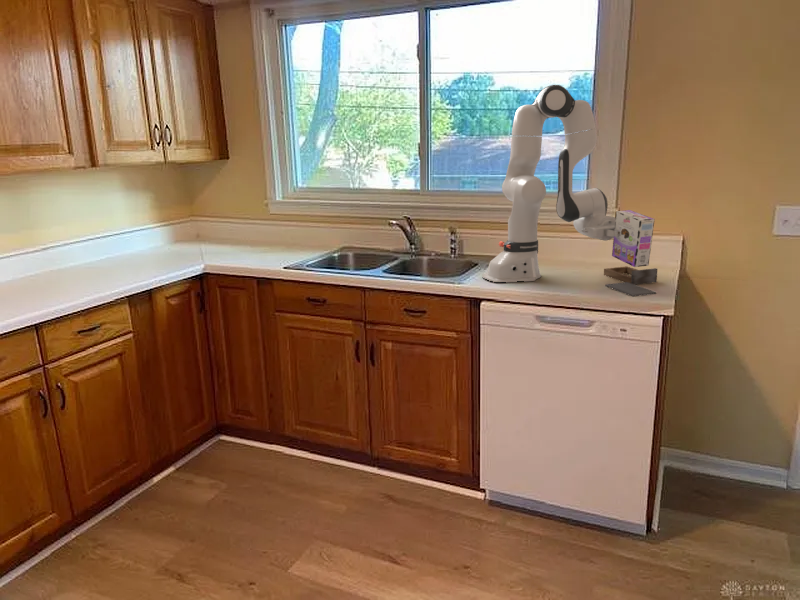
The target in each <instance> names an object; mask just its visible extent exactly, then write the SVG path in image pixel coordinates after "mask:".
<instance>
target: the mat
mask: <svg viewBox="0 0 800 600" xmlns="http://www.w3.org/2000/svg"><path fill="white" fill-rule="evenodd" d="M606 286H607V288H609V287H610V288H609V289H612V288H613V289H612V290H614V289H615V290H614V291H617V290H618V291H617V292H619V293H622V292H623V293H622V294H625V293H626V294H625V295H628V294H629V295H628V296H630V295H631V297H639V295H641V296H648V295H647V294H650V295H656V294H657V291H655V290H651V289H649V288H646V287H642V286H640V285H638V284H637V285H634V284H631V283H628V282H616V283H609V284H608V283H606V284H605V287H606Z"/></svg>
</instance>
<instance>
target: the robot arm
mask: <svg viewBox="0 0 800 600" xmlns="http://www.w3.org/2000/svg"><path fill="white" fill-rule="evenodd" d="M514 114H515V115H514V118H513V121H512V122H513V123H512V128H511V129H512V130H511V142H510V153H509V154H510V155H509V161H508V165H507V169H506V173H505V174H506V175H505V179H504V180H503V182H502V183H501V191H502V194H503V195H504V196H505V198H506V199H507V200H508V201H510V202H512V207H511V212H510V215H509V217H508V219H507V240H506V241H505V242H504V241H502V240H501V241H499V243H498V245H499V247H502V248H503V249H502V251H501V252H499V254H497V255H496V256H495V257H494V258H493V259H491V260H490V261H489V265H488V270H487V272H484V273H483V274H482V275H481V276H482V277H483V278H485V279H487V280H489V281H488V282H490V281H493V282H492V283H494V282H506V283H518V282H517V281H524V282H535V281H536V280H537V279H539V278H541V276H542V274H541V273H540V267H539V259H538V258H539V257H538V254H539V240H538V227H539V226H538V225H539V224H538V222H539V215H540V211H541V205H542V203H543V200H544V199H545V198H546V194H547V188H546V185H545V183H544V181H542V180H541V179H540V178H539V177H537V176H536V175H535V172H536V168H537V166H538V163H539V161H540V160H541V157H542V144H543V143H542V141H543V127H544V123H545V122H546V120H547V119H550V118H551V119H552V118H558V119H559V120H560V121H561V123H562V125H563V131H564V146H563V148H562V150H561V151H559V152H560V153H559V155H558V160H557V161H558V165H557V197H556V198H557V199H556V206H555V209H556V214H557V216H558V217H559V218H560V219H561V220H563V221H565V222H568V223H570V222H573V223H572V224H573V227H574V229H575V230H576V232H577V233H579V234H580V235H583V236H585V237H588V238H591V239H597V240H600V241H605V242H607V241H611V239H614V236H615V237H619V236H620V231H614V229H615V219H616V216H615V217H614V216H610V215H609V216H608V215H607V211H608V198H607V196H606V195H605V193H604V192H603V191H602V189H599V188H597V187H593V188H589V189H585V190H581V191H577V192H573V176H574V175H573V174H574V173H573V172H574V169H575V167H576V165H577V164H578V163H579V162H580V161H582V160H584V159H585V158H586V157H588V156H589V155H590V154H591V153H592V152H593V151H594V149H595V147H596V146H597V143H598V134H597V127H596V120H595V116H594V113H593V110H592V107H591V105H590V102H588V101H587V100H584V99H583V100H582V99H576V100H575V98H574V97H573V96H572V95H571V93H570V91H568V89H567V88H565V87H564V86H562V85H560V84H551V85H548V86H545V87H544V88H543V89H542V90H540V91H539V93H538V95H537V96H536V98H534V101H533V102H532V104H524V105H521V106H519V107H518V108H517V109H516V111H515V113H514ZM485 279H484V280H485ZM487 280H486V281H487Z"/></svg>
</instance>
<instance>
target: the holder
mask: <svg viewBox="0 0 800 600" xmlns="http://www.w3.org/2000/svg"><path fill="white" fill-rule="evenodd" d="M623 273H624V274H623ZM626 273H627V274H626ZM629 274H630V275H629ZM603 275H604V276H605V275H606V277H608V276H609V277H608V278H611V277H612V279H614V280H617V281H619V280H620V282H622V281H623V282H628V283H631V284H634V285H636V284H637V285H644V284H643V283H646V284H653V283H652V282H655V283H658V281H657V280H658V279H657V278H658V268H657V267H656V268H646V269H645V268H644V269H636V268H635V267H634V268H633V267H631V266H628V265H626V266H618V267H607V268H603ZM623 282H622V283H623Z"/></svg>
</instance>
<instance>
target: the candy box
mask: <svg viewBox="0 0 800 600" xmlns="http://www.w3.org/2000/svg"><path fill="white" fill-rule="evenodd" d="M615 217H616V219H615V229H614V231H620V236H619V237H615V236H614V238H613V241H612V253H611V256H612V257H613V258H615V259H617V260H620V261H621V262H623V263H625V264H628V265H629V266H630V267H631V266H632V268H633V267H634V268H639V267H648V266H649V265H650V257H651V256H650V255H651V250H652V249H651V248H652V243H653V241H652V240H653V233H654V225H655V218H654V217H653V218H652V217H651V216H647V215H645V214H642V213H639V212H637V211H633V210H631V209H628V210H618V211H616V212H615Z"/></svg>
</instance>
